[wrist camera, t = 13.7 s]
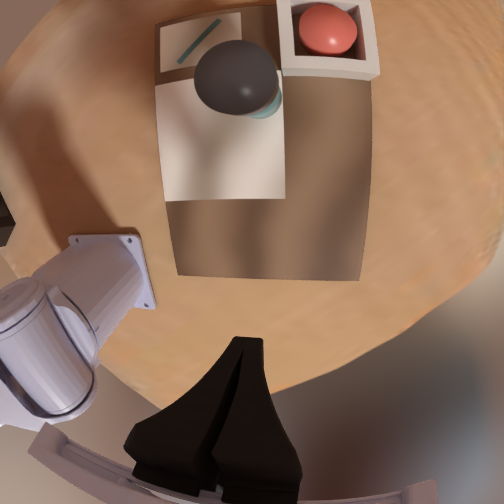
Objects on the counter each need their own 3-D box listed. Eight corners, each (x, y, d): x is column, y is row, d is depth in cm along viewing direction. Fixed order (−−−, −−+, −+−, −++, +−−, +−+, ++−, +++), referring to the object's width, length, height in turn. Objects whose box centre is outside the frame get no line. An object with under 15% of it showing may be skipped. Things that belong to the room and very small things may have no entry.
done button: (300, 58, 14) (301, 49, 12) (297, 16, 12) (297, 3, 11) (352, 61, 13) (359, 53, 11) (347, 19, 12) (353, 7, 10)
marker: (236, 121, 17) (195, 118, 10) (234, 77, 15) (192, 46, 8) (284, 119, 16) (278, 112, 9) (282, 74, 15) (273, 36, 8)
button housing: (283, 76, 15) (281, 68, 13) (277, 5, 13) (275, -10, 10) (369, 80, 14) (379, 74, 12) (361, 10, 12) (369, -3, 9)
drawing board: (182, 269, 24) (177, 276, 23) (160, 28, 15) (154, 24, 14) (356, 274, 22) (359, 281, 20) (359, 14, 13) (362, 9, 11)
